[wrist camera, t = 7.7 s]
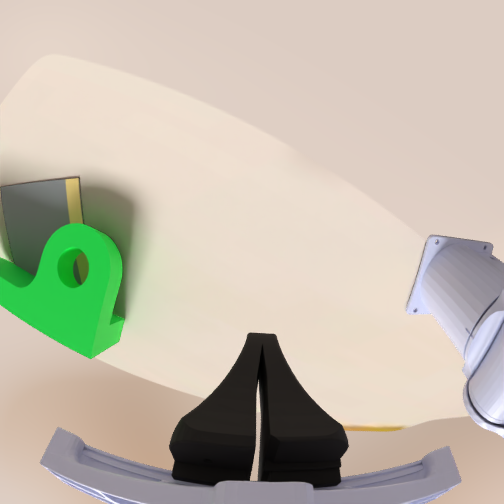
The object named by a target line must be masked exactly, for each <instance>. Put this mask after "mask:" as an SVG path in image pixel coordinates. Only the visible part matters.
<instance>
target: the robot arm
mask: <svg viewBox="0 0 504 504" xmlns="http://www.w3.org/2000/svg"><path fill="white" fill-rule="evenodd" d="M437 239H438V240H437ZM436 240H437V242H436V243H435V241H436ZM492 250H493V245H492V244H491V243H488V242H482V241H475V240H467V239H461V238H454V237H447V236H439V235H430V236H429V237H428V239H427V243H426V246H425V250H424V254H423V258H422V261H421V265H420V268H419V271H418V275H417V278H416V281H415V284H414V287H413V290H412V293H411V296H410V299H409V302H408V305H407V307H406V312H407V314H410V315H411V314H432V315H433V317H434V318H435V319H436V321H437V322H438V323H439V325H440V326H441V327H442V329H443V330H444V332H445V333H446V334H447V336H448V337H449V339H450V340H451V341H452V343H453V344H454V346H455V347H456V348H457V350H458V351H459V353H460V354H461V356H462V357H463V359H464V360H465V364H464V367H463V369H462V371H463V373H464V375H465V376H466V378H467V381H466V383H465V385H464V388H463V401H464V405H465V407H466V410H467V412H468V413H469V415H470V417H471V418H472V419H473V420H474V421H475V422H476V423H477V424H478V425H480V426H481V427H483V428H484V429H487V430H490V431H493V432H495V433H497V434H499V435H500V436H502V437H503V438H504V263H502V262H501V261H500V260H498V259H497V258H496V257H494V256H493V255H492ZM415 308H416V309H415ZM414 309H415V310H414ZM258 379H259V393H260V409H261V432H260V452H259V468H258V481H250V476H251V471H252V465H253V459H254V454H255V447H256V392H257V386H258ZM348 447H349V445H348V439H347V436H346V434H345V431H344V428H343V426H342V425H341V424H340V423H338V422H337V421H336V420H334V419H333V418H332V417H331V416H329V415H328V414H327V413H326V412H325V411H324V410H323V409H322V408H321V407H320V406H319V405H318V404H317V403H316V402H315V401H314V400H313V399H312V398H311V397H310V396H309V395H308V393H307V392H306V391H305V390H304V388H303V387H302V386H301V384H300V383H299V382H298V380H297V379H296V377H295V375H294V374H293V372H292V371H291V369H290V367H289V365H288V363H287V361H286V359H285V357H284V355H283V353H282V351H281V348H280V346H279V343H278V340H277V336H276V335H275V334H265V333H249V334H248V335H247V339H246V342H245V345H244V347H243V349H242V351H241V353H240V355H239V357H238V359H237V361H236V362H235V364H234V366H233V367H232V369H231V370H230V372H229V373H228V375H227V376H226V377H225V379H224V380H223V381H222V382H221V384H220V385H219V386H218V387H217V388H216V389H215V390H214V391H213V393H212V394H211V395H210V396H209V397H207V398H206V399H205V400H204V401H203V402H202V403H201V404H200V405H199V406H197V407H196V408H195V409H194V410H192V411H191V412H189V413H188V414H186V415H185V416H184V417H182V418H181V420H180V421H179V423H178V425H177V426H176V428H175V430H174V432H173V434H172V438H171V441H170V445H169V449H170V451H171V453H172V455H173V458H174V460H175V462H174V466H173V470H172V471H171V470H166V469H162V468H157V467H153V466H149V465H145V464H141V463H138V462H134V461H131V460H128V459H124V458H121V457H118V456H115V455H112V454H109V453H107V452H104V451H101V450H98V449H96V448H93V447H91V446H88V445H86V444H85V443H84V442H83V440H82V439H81V438H80V437H78V436H77V435H75V434H73V433H71V432H68V431H66V430H64V429H62V428H60V427H58V428H57V429H56V431H55V433H54V435H53V437H52V439H51V441H50V443H49V445H48V447H47V449H46V451H45V453H44V455H43V457H42V459H41V461H40V464H41V465H42V466H44V467H45V468H46V469H47V470H49V471H50V472H51V473H52V474H53V475H55V476H56V477H57V478H59V479H60V480H61V481H62V482H64V483H65V484H67V485H70V486H71V487H73V488H75V489H77V490H79V491H81V492H84V493H86V494H88V495H90V496H93V497H94V498H97V499H99V500H101V501H103V502H106V503H108V504H425V503H428V502H430V501H432V500H435V499H436V498H438V497H440V496H441V495H443V494H444V493H446V492H448V491H449V490H451V489H452V488H454V487H455V486H457V485H458V484H460V483H461V478H460V475H459V472H458V469H457V466H456V463H455V461H454V458H453V455H452V453H451V450H450V447H449V446H446V447H443V448H440V449H437V450H434V451H432V452H430V453H428V454H427V455H426V456H424V458H422V460H419V461H416V462H413V463H409V464H405V465H402V466H398V467H394V468H390V469H385V470H381V471H376V472H372V473H366V474H360V475H355V476H348V477H341V476H340V469H339V468H340V467H341V460H340V458H341V457H342V456H343V454H344V453H345V452H346V451H347V449H348Z"/></svg>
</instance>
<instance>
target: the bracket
mask: <svg viewBox="0 0 504 504" xmlns="http://www.w3.org/2000/svg"><path fill="white" fill-rule="evenodd" d="M82 252H84V253H85V255H86V257H87V259H88V263H89V272H88V276H87V278H86V280H85V282H84V283H83V284H82V285H79V284H78V283H77V281H76V280H75V278H74V274H73V264H74V261H75V259H76V258H77V256H78V255H79V254H81V253H82ZM122 271H123V268H122V260H121V256H120V252H119V250H118V248H117V246H116V245H115V243H114V242H113V241H112V239H111V238H110V237H108V236H107V235H106V234H104V233H102V232H100V231H98V230H96V229H94V228H92V227H90V226H87V225H85V224H81V223H72V224H68V225H65V226H63V227H61V228H59V229H58V230H57V231H55V232H54V233H53V234H52V236H51V237H50V238H49V240H48V241H47V243H46V245H45V247H44V250H43V253H42V256H41V260H40V264H39V268H38V271H37V274H36V276H34V275H32V274H30V273H28V272H27V271H25V270H23V269H22V268H20V267H18V266H16V265H15V264H13V263H11V262H9V261H7V260H5V259H3V258H0V305H1V306H3V307H4V308H5V309H7V310H8V311H10V312H11V313H12V314H14V315H15V316H17V317H18V318H20V319H21V320H23V321H25V322H26V323H27V324H29V325H31V326H32V327H34V328H36V329H37V330H39V331H40V332H42V333H44V334H45V335H47V336H49V337H50V338H52V339H54V340H56V341H57V342H59V343H61V344H63V345H64V346H66V347H69V348H70V349H72V350H74V351H76V352H78V353H80V354H82V355H84V356H86V357H88V358H90V359H92V358H93V357H95V356H96V355H98V354H100V353H101V352H103V351H105V350H106V349H108V348H109V347H111V346H113V345H114V344H116V343H117V342H119V340H120V336H121V332H122V328H123V324H124V320H125V319H123V318H121V317H119V316H116V315H114V314H112V313H113V309H114V305H115V301H116V298H117V294H118V291H119V287H120V284H121V280H122Z"/></svg>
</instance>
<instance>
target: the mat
mask: <svg viewBox="0 0 504 504" xmlns="http://www.w3.org/2000/svg"><path fill="white" fill-rule="evenodd" d="M0 189H1V198H2V205H3V212H4V218H5V224H6V229H7V234H8V239H9V244H10V248H11V252H12V256H13V260H14V264H15V265H16V266H18V267H20V268H22V269H23V270H25V271H27V272H28V273H30V274H32V275H34V276H36V274H37V271H38V268H39V264H40V260H41V256H42V253H43V250H44V247H45V245H46V243H47V241H48V240H49V238H50V237H51V236H52V234H53V233H54V232H55V231H57V230H58V229H59V228H61V227H63V226H65V225H68V224H72V223H81V224H84V222H83V214H82V205H81V195H80V182H79V178H72V179H61V180H51V181H42V182H33V183H26V184H18V185H11V186H5V187H0ZM88 272H89V263H88V259H87V257H86V255H85V253H84V252H82V253H81V254H79V255H78V256H77V258H76V259H75V261H74V264H73V274H74V278H75V280H76V281H77V283H78V284H79V285H82V284H83V283H84V282H85V280H86V278H87V276H88Z"/></svg>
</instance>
